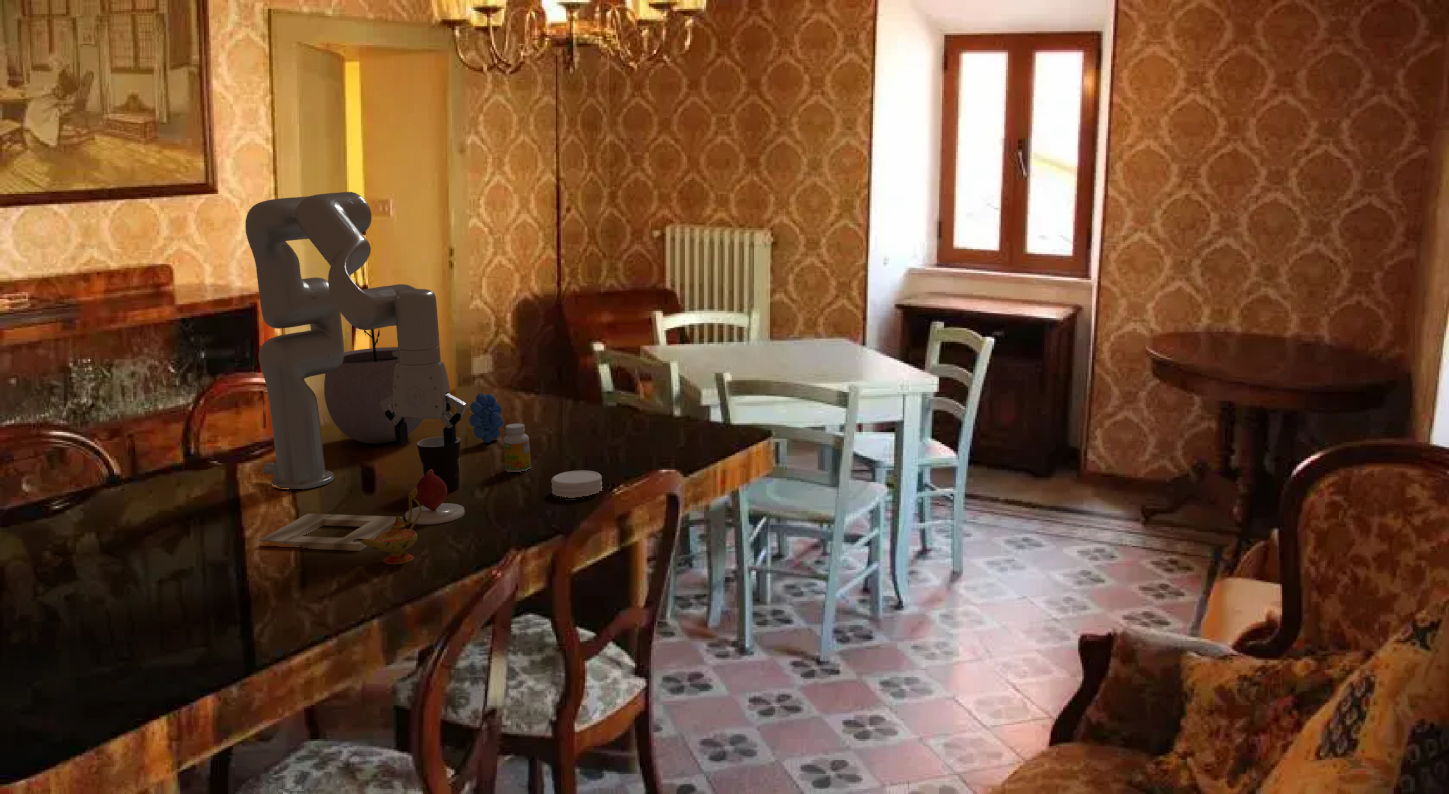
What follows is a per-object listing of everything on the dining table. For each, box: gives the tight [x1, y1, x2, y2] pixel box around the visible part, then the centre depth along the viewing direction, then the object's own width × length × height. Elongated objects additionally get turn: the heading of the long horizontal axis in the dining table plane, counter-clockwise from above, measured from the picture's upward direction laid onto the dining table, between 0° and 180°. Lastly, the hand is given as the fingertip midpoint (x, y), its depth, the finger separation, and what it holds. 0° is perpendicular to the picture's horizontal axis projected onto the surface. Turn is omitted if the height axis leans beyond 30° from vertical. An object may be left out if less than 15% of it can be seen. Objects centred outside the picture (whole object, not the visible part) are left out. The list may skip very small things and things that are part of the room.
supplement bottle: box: [502, 423, 532, 473], centre depth 279 cm, size 5×5×10 cm
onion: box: [415, 470, 448, 511], centre depth 249 cm, size 6×6×8 cm
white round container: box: [550, 470, 603, 498], centre depth 261 cm, size 10×10×4 cm
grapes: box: [468, 393, 505, 444], centre depth 304 cm, size 12×7×12 cm, turn 154°
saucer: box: [404, 502, 465, 526], centre depth 250 cm, size 11×11×1 cm
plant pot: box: [323, 328, 424, 445], centre depth 309 cm, size 24×24×30 cm
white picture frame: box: [258, 513, 404, 552], centre depth 241 cm, size 20×16×1 cm
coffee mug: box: [416, 435, 461, 494], centre depth 268 cm, size 12×9×10 cm
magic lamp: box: [353, 487, 422, 565], centre depth 223 cm, size 7×18×11 cm, turn 156°
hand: (426, 445), depth 247 cm, fingers open, 9 cm apart
